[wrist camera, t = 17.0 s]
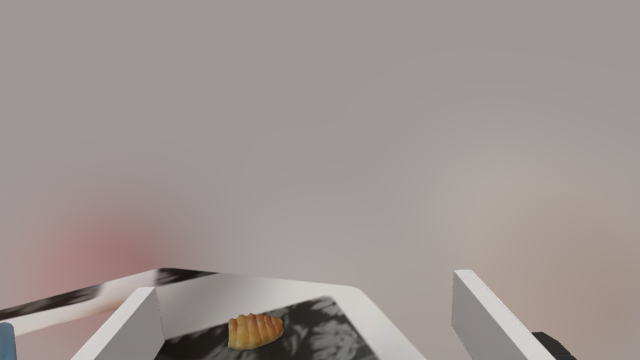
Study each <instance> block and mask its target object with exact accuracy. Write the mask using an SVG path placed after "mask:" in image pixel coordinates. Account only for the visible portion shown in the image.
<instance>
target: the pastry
mask: <svg viewBox="0 0 640 360" xmlns="http://www.w3.org/2000/svg"><path fill="white" fill-rule="evenodd" d="M283 332H284V329H283V322H282V320H281V319H278V318H277V317H271V316H270V315H266V316H263V315H262V314H259V315H254V314H252V313H250V314H249V315H248V316H244V315H239V317H238V318H237V319H233V318H232V319H230V320H229V343H228V347H229V348H232V349H235V350H237V351H243V350H245V349H250V350H251V349H254V348H257V347H260V346H263V345H266V344H268V343H271V342H273V341H275V340H276V339H278V338H279V337H281V336H282V334H283Z"/></svg>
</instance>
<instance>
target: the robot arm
mask: <svg viewBox="0 0 640 360" xmlns="http://www.w3.org/2000/svg"><path fill="white" fill-rule="evenodd" d="M452 302H453V303H452V327H453V329H454V330H455V332H456V333H457V335H458V337H459V338H460V340H461V341H462V343H463V345H464V346H465V348H466V349H467V351H468V353H469V354H470V356H471V358H472V359H473V360H576V358H575V357H574V356H571V354H570V352H568V351H567V350H566V349H565V348H564V347H563V346H562V345H561V344H560V343H559V342H558V341H557V340H555V339H553V338H552V337H550V336H548V335H547V334H545V333H543V332H535V333H530V332H529V331H528V330H527V328H526V327H525V326H524V325H523V324H522V323H521V322H520V321H519V320H518V319H517V318H516V317H515V316H514V315H513V313H512V312H511V311H510V310H509V309H508V308H507V307H506V306H505V305H504V304H503V303H502V302H501V301H500V300H499V299H498V298H497V296H496V295H495V294H494V293H493V292H492V291H491V290H490V289H489V288H488V287H487V286H486V285H485V284H484V283H483V282H482V281H481V279H480V278H479V277H478V276H477V275H476V274H475V273H474V272H473V271H472V270H471V269H470V270H454V277H453V301H452ZM164 342H165V340H164V334H163V329H162V323H161V317H160V311H159V305H158V300H157V294H156V288H155V287H143V288H137V289H136V290H135V291H134V292H133V293H132V294H131V296H130V297H129V298H128V299H127V300H126V301H125V302H124V303H123V304H122V305H121V306H120V307H119V308H118V309H117V310H116V312H115V313H114V314H113V315H112V316H111V317H110V318H109V319H108V320H107V321H106V322H105V323H104V324H103V325H102V326H101V328H100V329H99V330H98V331H97V332H96V333H95V334H94V335H93V336H92V337H91V338H90V339H89V340H88V341H87V343H86V344H85V345H84V346H83V347H82V348H81V349H80V350H79V351H78V352H77V353H76V354H75V356H74V357H73V358H72V359H71V360H154V358H155V357H156V355H157V353H158V352H159V350H160V348H161V347H162V345H163V344H164ZM15 345H16V344H15V334H14V327H13V326H12V324H10V323H6V322H4V323H0V360H17V356H16V346H15Z"/></svg>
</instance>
